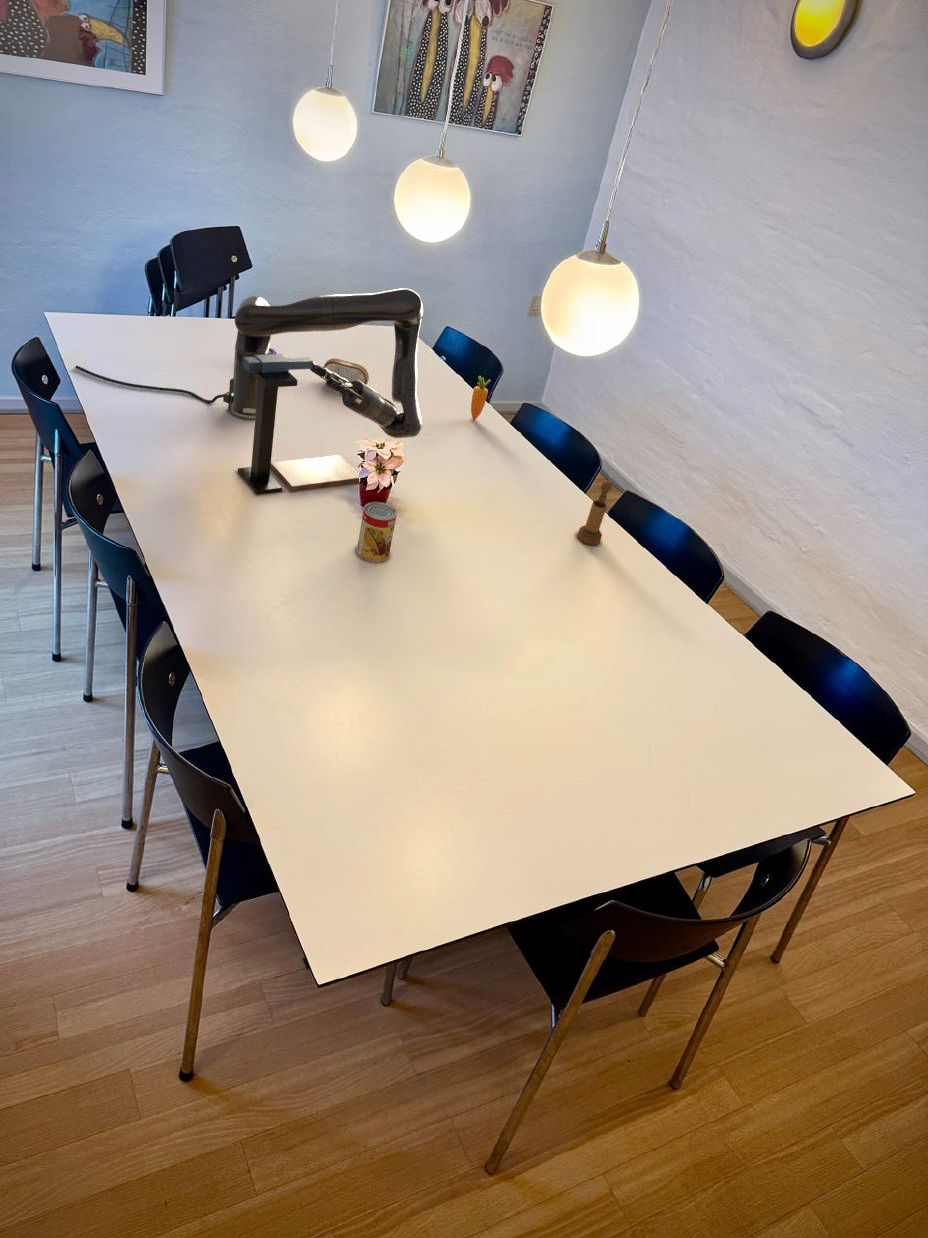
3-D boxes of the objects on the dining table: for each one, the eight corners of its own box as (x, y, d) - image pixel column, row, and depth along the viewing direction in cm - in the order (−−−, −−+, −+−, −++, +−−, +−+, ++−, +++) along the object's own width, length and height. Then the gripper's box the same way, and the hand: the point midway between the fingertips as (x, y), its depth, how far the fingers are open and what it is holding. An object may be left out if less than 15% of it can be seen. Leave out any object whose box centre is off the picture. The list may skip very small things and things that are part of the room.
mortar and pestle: (575, 530, 245) (594, 473, 235) (597, 534, 247) (617, 477, 236) (579, 543, 240) (598, 485, 230) (601, 547, 241) (622, 489, 231)
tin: (367, 390, 292) (370, 366, 287) (365, 394, 290) (368, 369, 285) (322, 379, 292) (325, 355, 287) (320, 382, 289) (323, 358, 284)
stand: (262, 467, 236) (272, 356, 219) (285, 493, 228) (297, 380, 210) (234, 470, 232) (241, 357, 214) (256, 497, 224) (266, 381, 206)
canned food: (391, 562, 213) (400, 520, 206) (359, 561, 210) (367, 518, 203) (385, 544, 219) (393, 502, 212) (354, 543, 216) (361, 501, 209)
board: (338, 460, 249) (339, 455, 248) (361, 482, 241) (362, 477, 241) (270, 467, 237) (270, 462, 236) (291, 491, 230) (292, 486, 229)
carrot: (483, 420, 293) (494, 377, 284) (477, 424, 289) (487, 381, 281) (470, 415, 294) (480, 372, 286) (464, 419, 290) (474, 376, 282)
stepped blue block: (310, 363, 220) (311, 353, 219) (318, 370, 218) (319, 360, 216) (242, 365, 210) (242, 355, 209) (249, 373, 207) (250, 363, 206)
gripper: (358, 377, 237) (315, 349, 224) (385, 400, 229) (341, 372, 216) (342, 400, 239) (298, 374, 226) (369, 424, 230) (325, 398, 218)
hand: (320, 373), depth 221 cm, fingers open, 8 cm apart
